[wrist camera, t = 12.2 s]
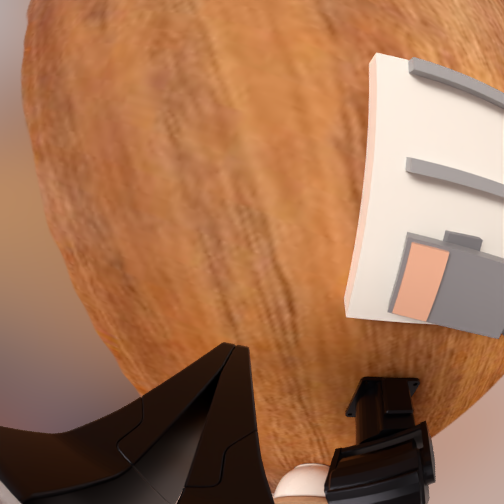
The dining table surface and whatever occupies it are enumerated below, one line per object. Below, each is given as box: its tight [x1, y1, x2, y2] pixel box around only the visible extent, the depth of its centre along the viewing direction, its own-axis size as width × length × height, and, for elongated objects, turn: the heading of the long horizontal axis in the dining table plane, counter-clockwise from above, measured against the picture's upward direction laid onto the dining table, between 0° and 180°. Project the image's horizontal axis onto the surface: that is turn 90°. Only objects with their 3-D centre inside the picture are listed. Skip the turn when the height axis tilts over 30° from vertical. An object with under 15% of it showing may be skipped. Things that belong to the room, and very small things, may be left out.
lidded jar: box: [273, 463, 330, 504], centre depth 28 cm, size 11×11×9 cm
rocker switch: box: [387, 232, 504, 339], centre depth 13 cm, size 5×9×2 cm, turn 88°
